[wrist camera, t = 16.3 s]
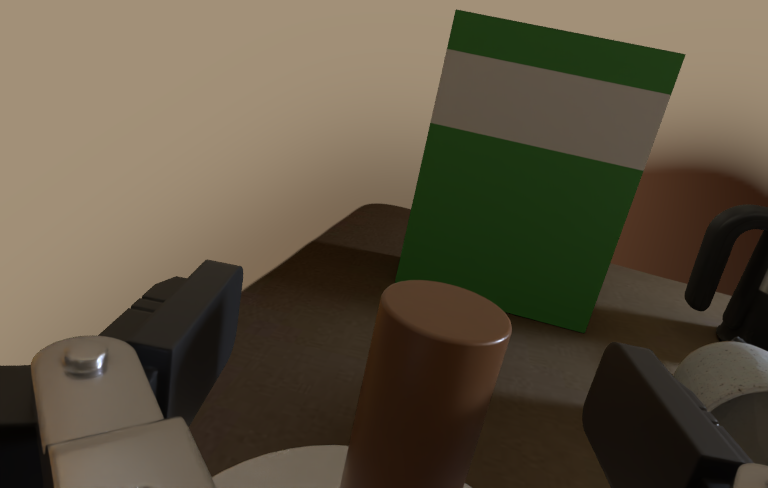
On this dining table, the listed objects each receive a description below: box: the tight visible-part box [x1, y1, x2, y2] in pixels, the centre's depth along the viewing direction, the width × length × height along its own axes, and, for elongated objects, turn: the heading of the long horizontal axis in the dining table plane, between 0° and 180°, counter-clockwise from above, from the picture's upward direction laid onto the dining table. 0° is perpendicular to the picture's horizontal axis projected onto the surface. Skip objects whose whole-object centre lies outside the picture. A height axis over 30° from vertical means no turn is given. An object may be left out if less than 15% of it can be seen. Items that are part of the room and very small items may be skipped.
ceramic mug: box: [674, 341, 768, 466], centre depth 33 cm, size 11×8×8 cm
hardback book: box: [395, 10, 685, 333], centre depth 49 cm, size 18×7×24 cm, turn 78°
